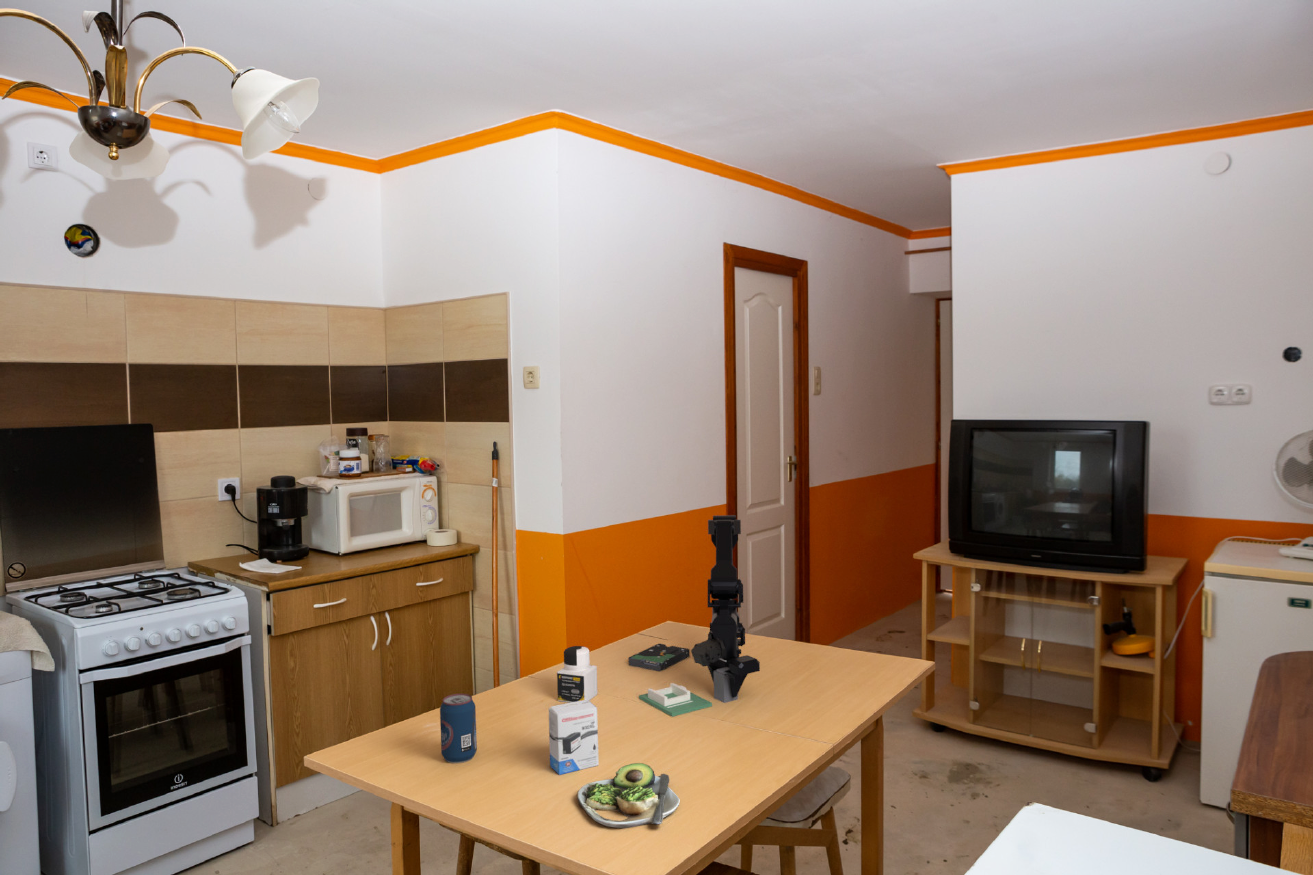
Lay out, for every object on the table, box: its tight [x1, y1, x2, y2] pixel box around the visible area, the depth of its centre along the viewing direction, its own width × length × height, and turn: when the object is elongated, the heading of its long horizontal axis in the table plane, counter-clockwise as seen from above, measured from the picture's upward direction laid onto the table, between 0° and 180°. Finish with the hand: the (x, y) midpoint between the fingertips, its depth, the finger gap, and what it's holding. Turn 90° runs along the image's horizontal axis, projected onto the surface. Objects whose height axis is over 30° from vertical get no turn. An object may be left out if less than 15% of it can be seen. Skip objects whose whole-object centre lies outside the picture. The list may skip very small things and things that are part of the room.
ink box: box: [548, 700, 600, 776], centre depth 170 cm, size 8×5×12 cm, turn 117°
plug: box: [713, 667, 739, 704], centre depth 205 cm, size 4×4×7 cm
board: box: [638, 682, 713, 718], centre depth 204 cm, size 14×11×3 cm
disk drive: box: [628, 643, 691, 672], centre depth 235 cm, size 10×3×15 cm
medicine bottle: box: [556, 645, 598, 703], centre depth 208 cm, size 7×7×12 cm
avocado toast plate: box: [577, 762, 681, 829], centre depth 153 cm, size 19×18×5 cm
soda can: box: [439, 693, 478, 764], centre depth 175 cm, size 7×7×12 cm
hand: (725, 693), depth 205 cm, fingers open, 6 cm apart
